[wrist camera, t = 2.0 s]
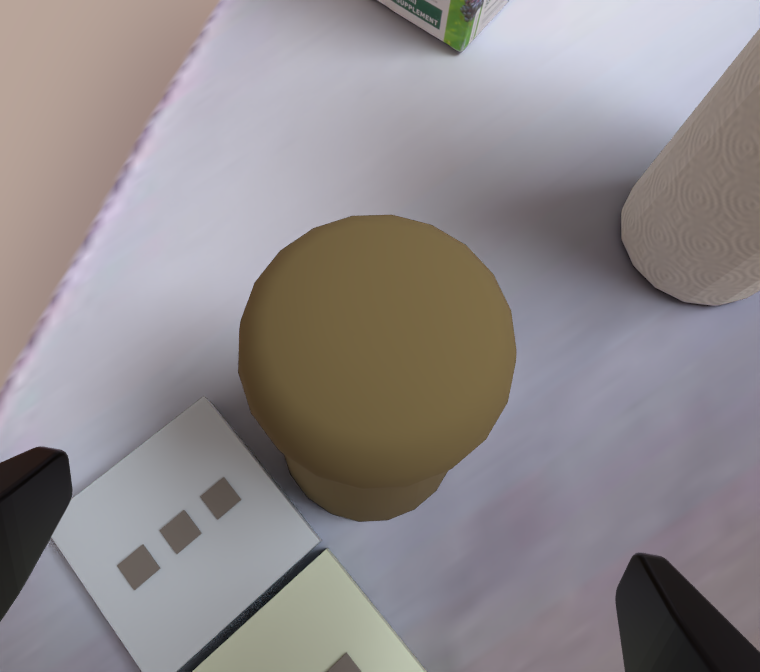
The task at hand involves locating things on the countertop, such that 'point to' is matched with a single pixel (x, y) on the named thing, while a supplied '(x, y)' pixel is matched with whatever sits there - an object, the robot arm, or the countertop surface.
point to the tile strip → (216, 562)
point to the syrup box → (449, 17)
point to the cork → (375, 361)
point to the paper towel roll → (704, 196)
